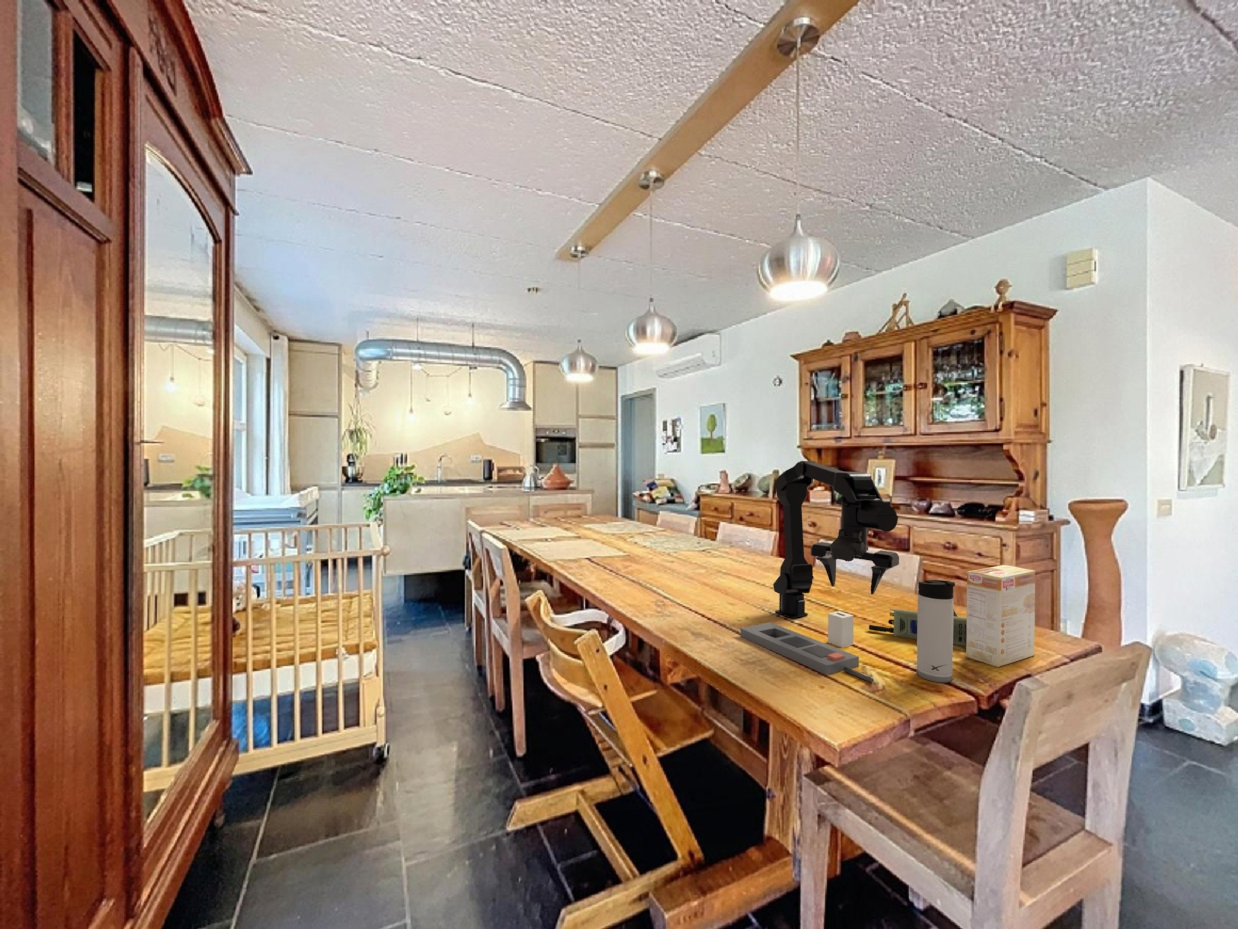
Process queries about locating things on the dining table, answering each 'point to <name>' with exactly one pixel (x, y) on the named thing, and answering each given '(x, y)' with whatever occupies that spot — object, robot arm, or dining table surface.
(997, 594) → the coffeecake box
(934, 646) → the travel mug
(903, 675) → the dining table surface
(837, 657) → the power strip
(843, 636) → the block
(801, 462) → the robot arm
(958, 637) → the handheld radio
